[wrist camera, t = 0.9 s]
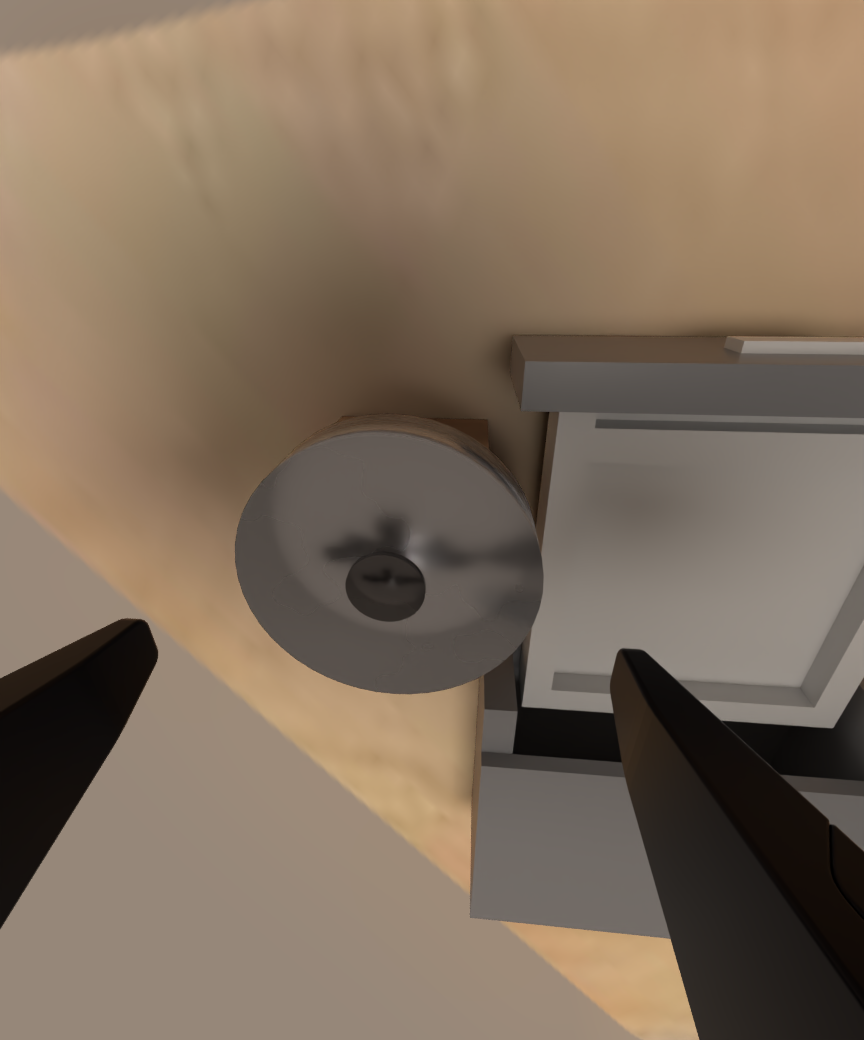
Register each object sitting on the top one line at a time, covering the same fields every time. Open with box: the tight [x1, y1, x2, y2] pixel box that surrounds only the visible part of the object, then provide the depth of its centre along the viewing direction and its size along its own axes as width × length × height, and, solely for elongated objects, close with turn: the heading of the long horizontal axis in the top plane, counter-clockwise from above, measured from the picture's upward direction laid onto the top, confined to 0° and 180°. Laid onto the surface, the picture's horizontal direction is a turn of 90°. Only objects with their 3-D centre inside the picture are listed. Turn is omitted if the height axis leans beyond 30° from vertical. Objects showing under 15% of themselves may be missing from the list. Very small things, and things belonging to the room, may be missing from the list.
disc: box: [235, 414, 544, 694], centre depth 11 cm, size 7×7×2 cm
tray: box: [510, 335, 864, 728], centre depth 13 cm, size 12×12×4 cm
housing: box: [470, 643, 864, 939], centre depth 18 cm, size 13×12×5 cm
